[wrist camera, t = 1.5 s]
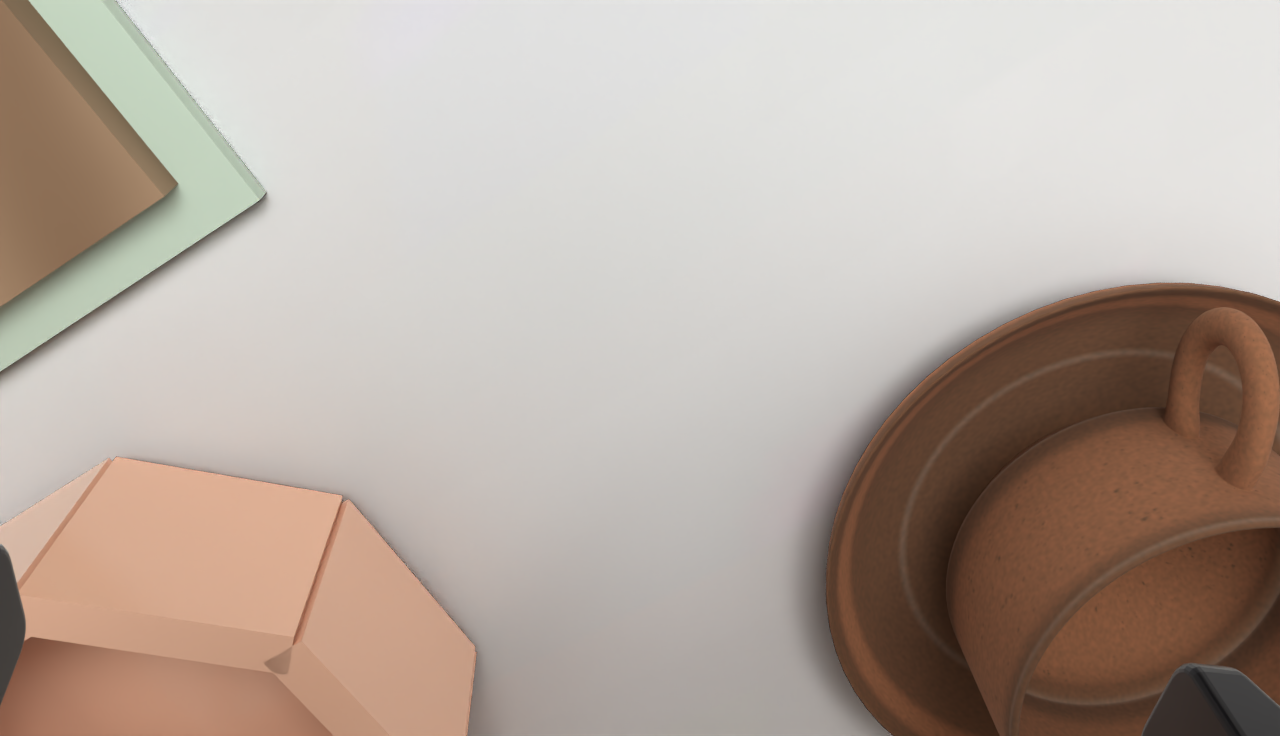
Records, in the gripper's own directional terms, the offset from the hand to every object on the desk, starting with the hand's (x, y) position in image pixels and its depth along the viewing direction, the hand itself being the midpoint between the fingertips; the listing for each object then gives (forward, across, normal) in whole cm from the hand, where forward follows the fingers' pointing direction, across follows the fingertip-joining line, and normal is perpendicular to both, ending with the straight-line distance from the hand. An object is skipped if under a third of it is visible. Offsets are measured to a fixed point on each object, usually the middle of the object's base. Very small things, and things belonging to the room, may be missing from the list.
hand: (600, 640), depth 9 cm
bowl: (+11, +8, +15) cm, 20 cm away
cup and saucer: (+14, -11, +9) cm, 20 cm away
